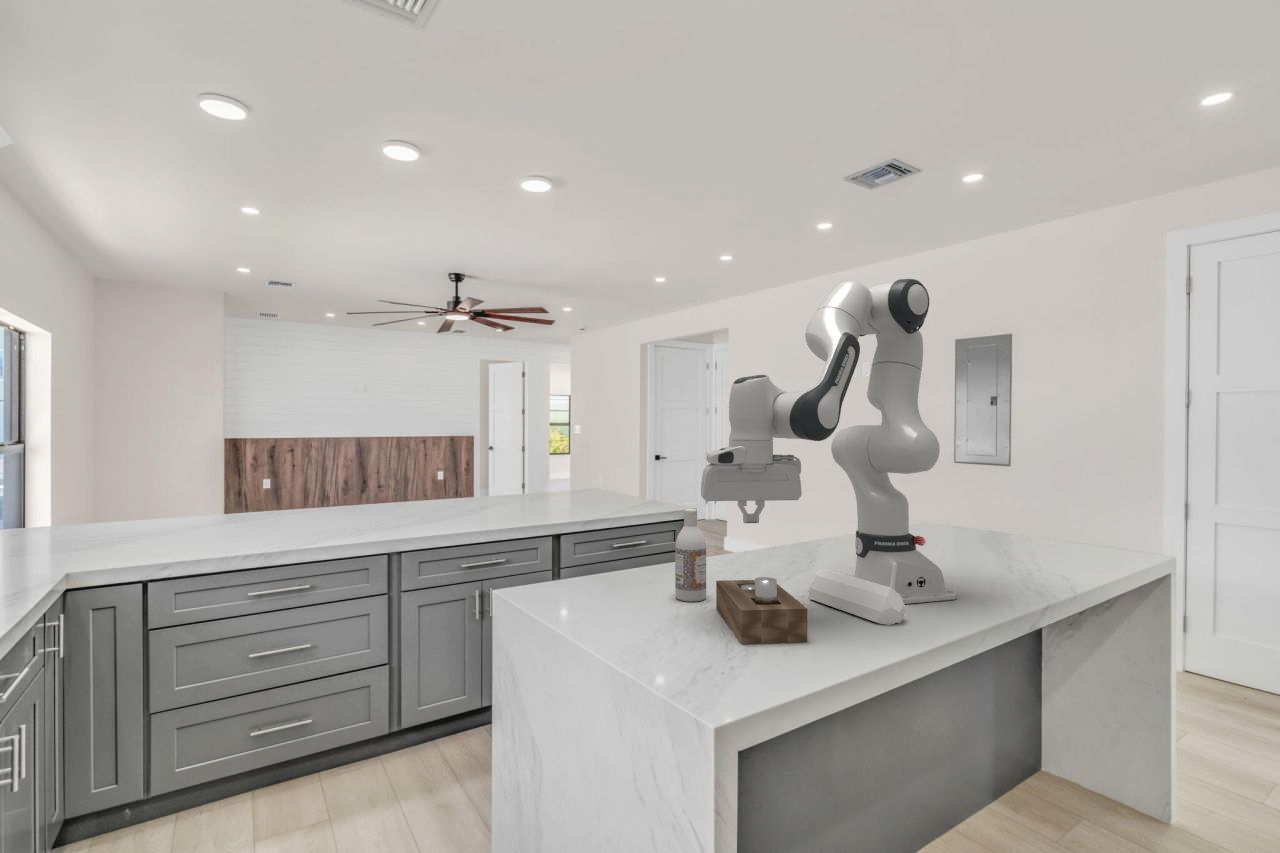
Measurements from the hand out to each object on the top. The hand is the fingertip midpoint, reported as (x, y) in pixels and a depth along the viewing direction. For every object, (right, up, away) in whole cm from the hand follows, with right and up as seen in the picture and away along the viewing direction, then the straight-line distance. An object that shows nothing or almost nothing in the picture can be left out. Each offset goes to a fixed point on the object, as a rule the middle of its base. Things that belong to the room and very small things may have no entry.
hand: (751, 522), depth 128 cm
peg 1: (0, -19, +1) cm, 19 cm away
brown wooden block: (0, -19, -5) cm, 20 cm away
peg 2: (+1, -15, -10) cm, 18 cm away
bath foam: (-11, -19, +14) cm, 27 cm away
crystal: (+23, -20, +5) cm, 30 cm away
